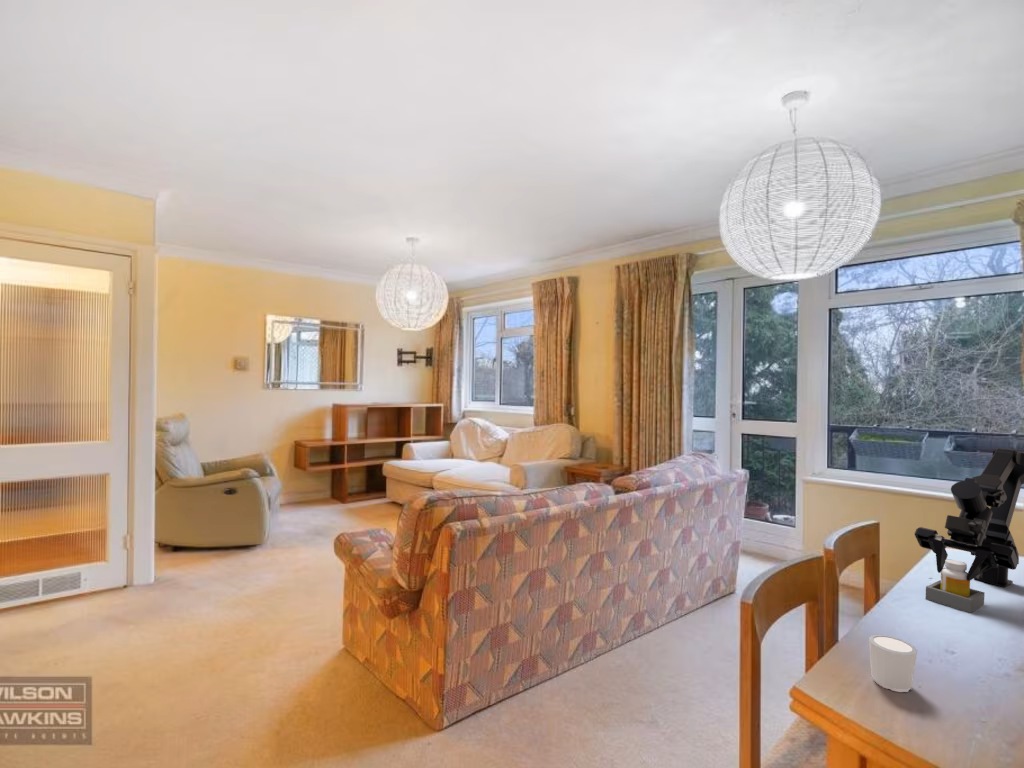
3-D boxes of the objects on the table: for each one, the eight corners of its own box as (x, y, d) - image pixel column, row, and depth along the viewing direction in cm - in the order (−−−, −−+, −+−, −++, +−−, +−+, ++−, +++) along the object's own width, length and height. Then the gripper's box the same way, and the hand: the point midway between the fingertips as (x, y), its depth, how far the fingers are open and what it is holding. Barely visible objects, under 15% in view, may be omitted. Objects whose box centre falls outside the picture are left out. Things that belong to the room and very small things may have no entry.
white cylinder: (918, 700, 86) (920, 658, 86) (868, 686, 90) (869, 646, 90) (913, 680, 92) (914, 641, 92) (866, 668, 96) (867, 630, 96)
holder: (939, 591, 132) (940, 580, 132) (984, 604, 125) (984, 592, 125) (925, 598, 127) (925, 586, 127) (970, 612, 120) (970, 600, 120)
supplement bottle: (975, 607, 123) (977, 566, 123) (952, 606, 123) (953, 565, 123) (956, 597, 129) (958, 558, 128) (934, 596, 129) (935, 557, 129)
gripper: (918, 495, 136) (898, 544, 130) (1015, 512, 120) (996, 569, 114) (930, 522, 140) (910, 570, 134) (1025, 541, 124) (1007, 597, 118)
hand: (953, 575), depth 125 cm, fingers closed on supplement bottle, 5 cm apart
